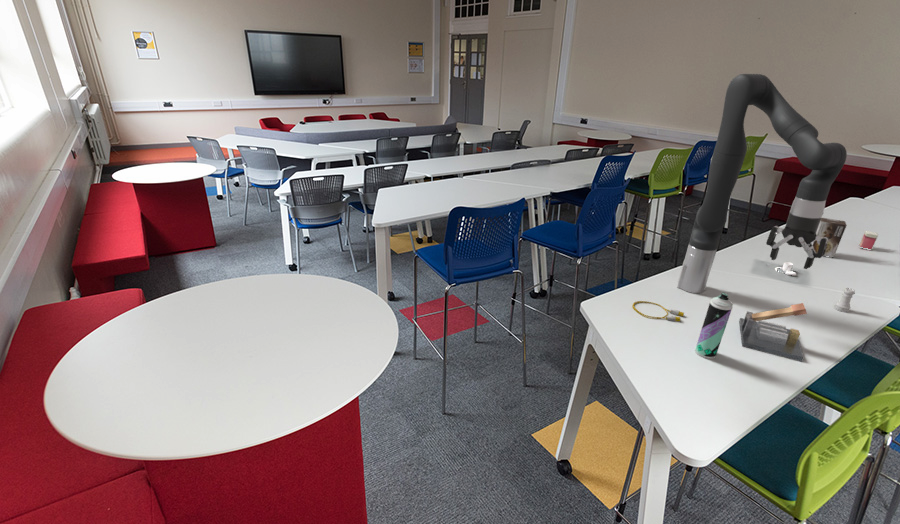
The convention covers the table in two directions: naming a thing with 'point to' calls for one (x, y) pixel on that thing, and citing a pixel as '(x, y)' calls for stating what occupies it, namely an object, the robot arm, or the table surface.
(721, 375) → the table surface
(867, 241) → the small box
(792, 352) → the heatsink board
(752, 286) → the table surface
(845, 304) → the rook chess piece
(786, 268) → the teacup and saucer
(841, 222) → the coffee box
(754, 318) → the lever
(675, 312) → the extension cord
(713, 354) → the spray can
